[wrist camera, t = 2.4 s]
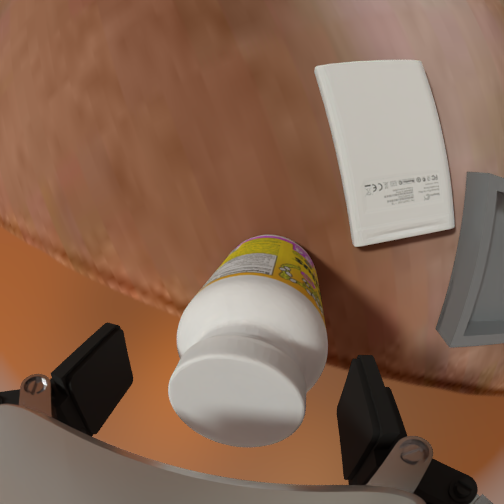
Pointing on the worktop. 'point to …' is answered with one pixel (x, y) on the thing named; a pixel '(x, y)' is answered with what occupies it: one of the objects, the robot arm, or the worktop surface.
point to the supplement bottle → (251, 345)
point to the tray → (477, 268)
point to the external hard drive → (387, 149)
